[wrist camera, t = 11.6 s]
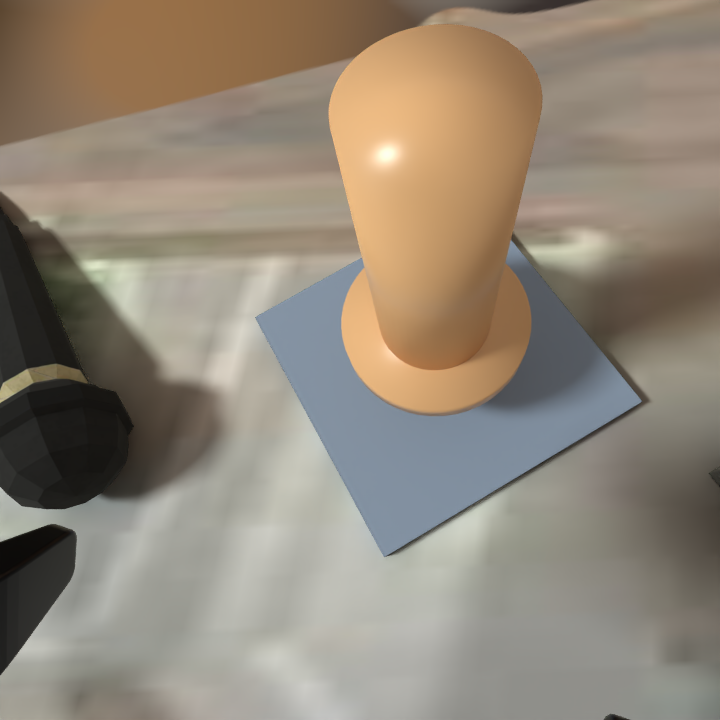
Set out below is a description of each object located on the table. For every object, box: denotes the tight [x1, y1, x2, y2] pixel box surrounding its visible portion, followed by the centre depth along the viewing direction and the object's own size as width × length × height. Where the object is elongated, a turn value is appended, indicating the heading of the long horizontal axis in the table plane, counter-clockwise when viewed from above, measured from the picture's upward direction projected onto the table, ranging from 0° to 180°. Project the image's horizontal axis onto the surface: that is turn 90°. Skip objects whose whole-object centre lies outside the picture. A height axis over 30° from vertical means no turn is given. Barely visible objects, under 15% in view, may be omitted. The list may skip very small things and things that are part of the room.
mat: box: [255, 240, 642, 557], centre depth 23 cm, size 12×12×1 cm
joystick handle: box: [329, 24, 542, 416], centre depth 17 cm, size 7×7×14 cm
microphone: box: [0, 208, 134, 509], centre depth 25 cm, size 6×6×20 cm
